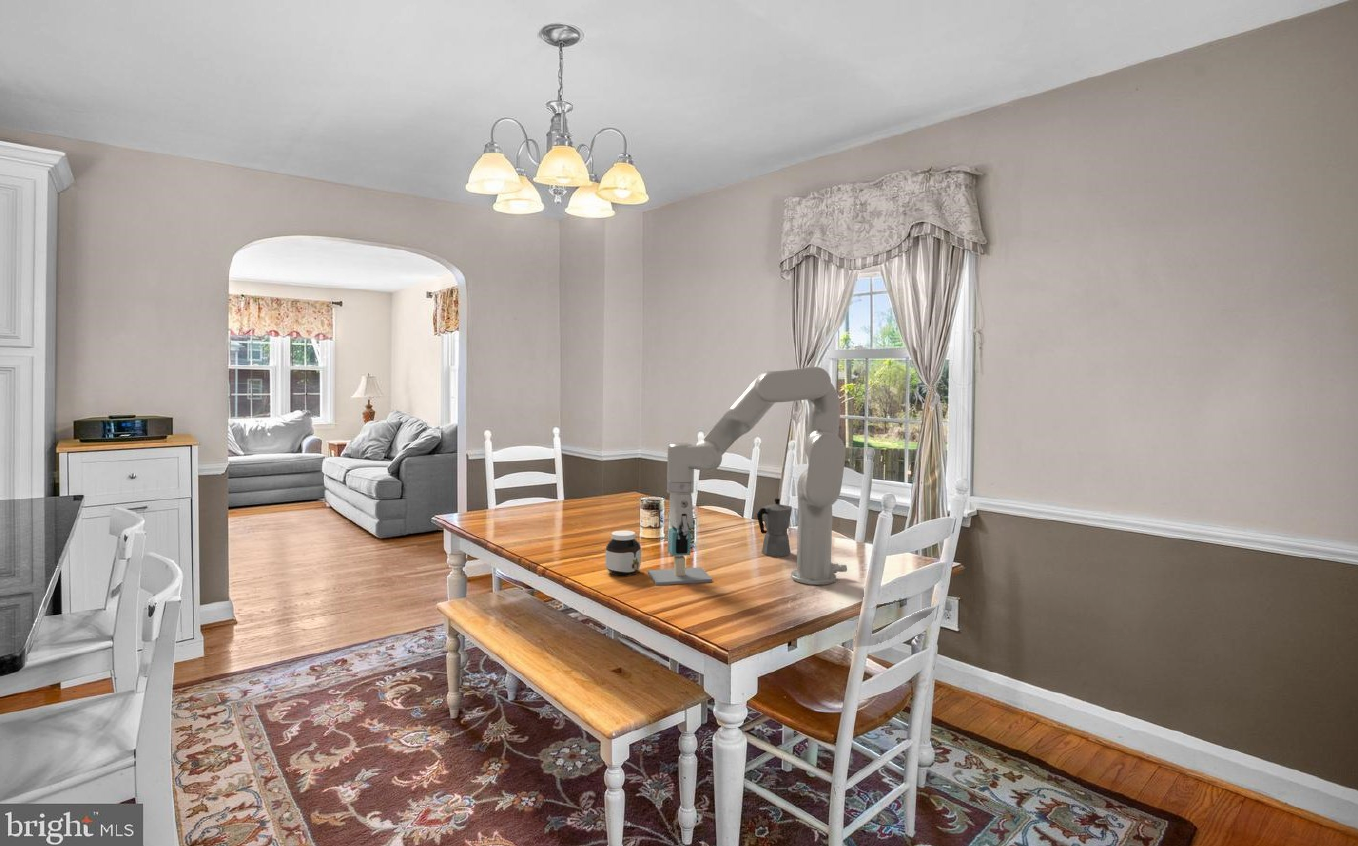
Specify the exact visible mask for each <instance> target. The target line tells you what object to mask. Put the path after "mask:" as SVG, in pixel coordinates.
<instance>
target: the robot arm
mask: <svg viewBox="0 0 1358 846" xmlns="http://www.w3.org/2000/svg"><path fill="white" fill-rule="evenodd" d="M804 400H805V401H807V404H808V409H809V411H808V412H809V413H808V423H807V424H808V425H807V431H806V437H805V442H804V453H805V456H806V457H807V458H808V467H807V469H805V470H803V472H802V473H801V474H800V476H799V478H798V480H797V485H796V489H797V490H796V491H797V492H796V493H797V536H796V537H797V541H796V543H797V544H796V545H797V547H796V569H795V570H792V571H791V573H790V578H791V579H792V580H793V581H795V582H797V583H800V584H805V585H817V586H823V585H829V584H834V583H835V582H837V575H836V574H837V573H838V572H840V573H843V572H844V573H845V572H847V570H848V567H847V565H846V564H839V563H833V562H832V542H833V541H832V538H833V537H832V536H833V535H832V533H833V505H835V503H836V502H837V501H838V499H839V497H840V494H841V490H842V483H843V478H844V469H845V465H846V464H845V461H846V448H845V444H844V441H843V440H842V439H841V438H840V437H839V430H840V420H841V419H840V418H841V402H840V396H839V394H838V392H837V390H836V388H835V385H833V383H832V379H831V376H830V374H829V372H828V371H827V370H825V369H824V368H822V367H820V366H805V367H802V368H794V369H787V370H786V369H785V370H768V371H763V372H762V373H760V374H759V375H757V377H756V378H755V379H754V380H753V381H752V382H751V383H750V384H749V386H748V387H747V388H746V389H745V390H744V392H743V393H742V394H741V395H740V396H739V397H738V398H737V400H736V401H735V402H734V403H733V404H732V405H731V407H729V408H728V410H727V411H726V412H725V413H724V414H723V416H722V417H721V418H720V419H719V420H718V422H716V424H715V425H714V426H713V427H711V429H710V430H709V431H708V432H707V434H706V435H705V436H704V437H703V438H702V439H701V441H700V442H699V443H698V444H696V445H693V444H691V443H688V442H685V443H684V442H675V443H674V442H673V443H670V444H669V445H668V446H667V468H666V469H667V471H666V474H667V475H666V477H667V478H666V493H668V494H669V504H668V505H669V506H668V509H669V510H668V517H669V518H668V520H669V524H671V528H676V529H677V539H676V553H677V554H684V553H687V552H688V530H689V529H690V530H691V529H693V527H694V515H693V514H694V511H693V508H694V507H693V497H692V495H693V493H695V491H694V490H695V481H694V479H695V470H699V471H704V472H712V471H714V470H717V469H718V468H719V467H720V465H721V463H723V455H724V454H725V453H726V452H727V451H728V450H729V448H730V447H731V446H732V445H733V444H734V443H735V442H737V440H738V439H739V438H741V437H742V436H744V435H745V434H748V433H749V432H750V431H751V430H753V429H754V428H755V426H756V425H757V424H759V422H760V421H761V419H762V418H763V417H764V416H765V415H766V414H767V412H768V411H769V410H770V409H771V408H772V407H773V406H774V405H775V403H790V402H797V401H804ZM680 531H681V533H680Z"/></svg>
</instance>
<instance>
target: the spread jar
mask: <svg viewBox="0 0 1358 846" xmlns="http://www.w3.org/2000/svg"><path fill="white" fill-rule="evenodd" d="M604 557H605V560H604V561H605V568H606V570H607V571H608V572H609V573H610V574H612V575H614V576H618V577H625V576H626V577H628V576H633V575H635V574H636V573H637V572H638V571H639V570H640V567H641V565H642V564H641V563H642V547H641V544H640V543H639V541H638V540H637V539H636V532H635V531H633V530H632V531H631V530H615V531H612V532H611V539H610V540H609V542H608V543H607V545H606V548H605V555H604Z"/></svg>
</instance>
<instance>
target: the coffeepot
mask: <svg viewBox="0 0 1358 846" xmlns="http://www.w3.org/2000/svg"><path fill="white" fill-rule="evenodd" d="M780 501H781V499H780V498H778V497H777V498H774V502H775V503H773V504H767V505H764V506H762V507H761V508H759V510H758V512H757V513H756V517H757V521H758V526H759V531H760V533H761V534H764V537H763V544H762V548H761V553H762V554H763V555H764V556H767V557H772V558H785V557H788V556H790V554H792V553H791V545H790V540H789V534H788V529H789V528H790V523H791V516H792V511H793V508H792V506H790V505H785V504H780ZM765 528H766V530H765Z"/></svg>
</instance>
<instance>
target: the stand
mask: <svg viewBox="0 0 1358 846" xmlns="http://www.w3.org/2000/svg"><path fill="white" fill-rule="evenodd" d="M647 574H648V576H649V577H650V579H651V580H652V581H653V583H654V585H656V586H665V585H666V586H667V585H681V584H682V585H683V584H700V583H712V582H713V578H712V577H711V576H710V575H709V573H707V572H706V571H705V570H704V568H702V567H697V566H696V567H686V558H685V555H684V556H673V568H666V569H665V568H663V569H649V570H647Z"/></svg>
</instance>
